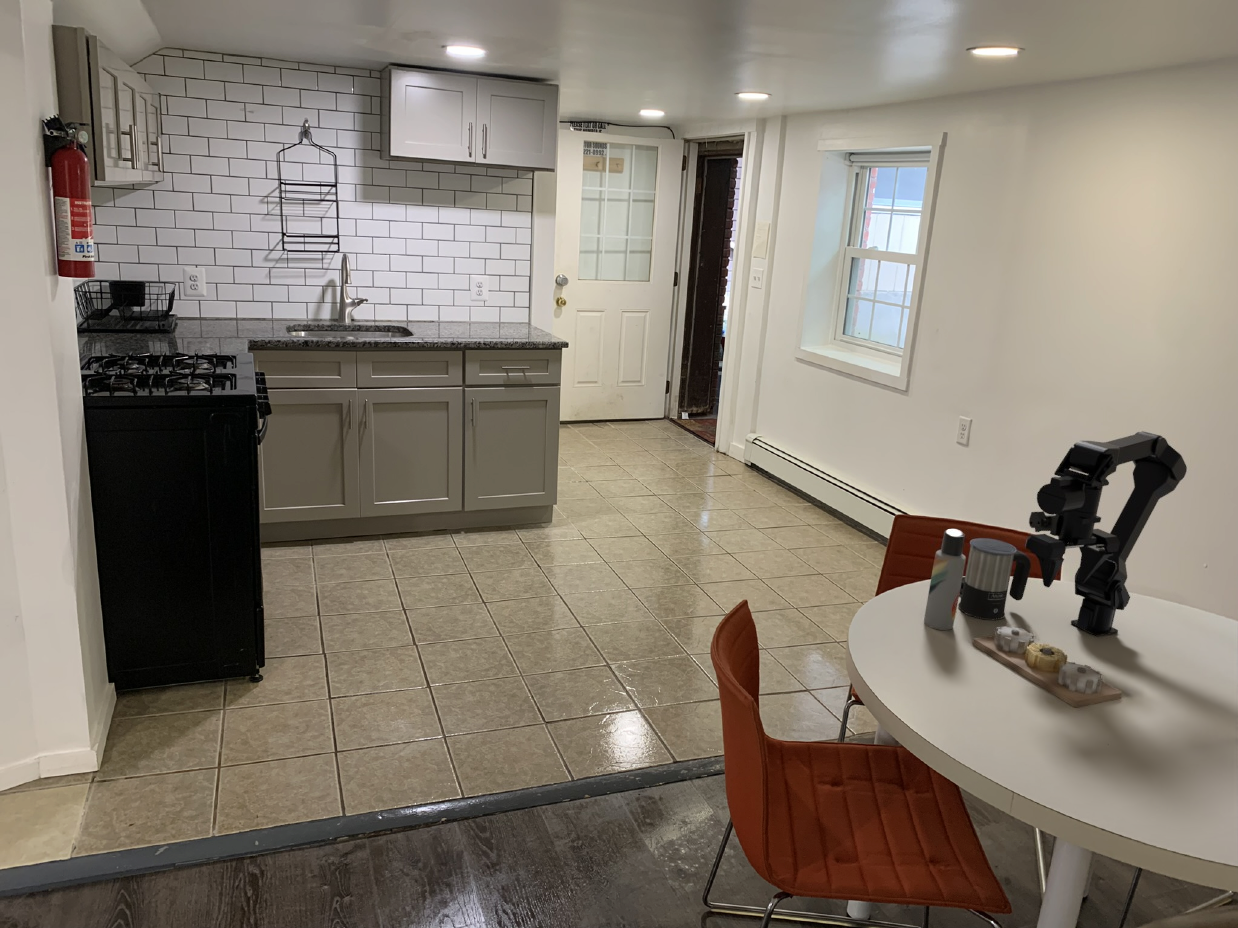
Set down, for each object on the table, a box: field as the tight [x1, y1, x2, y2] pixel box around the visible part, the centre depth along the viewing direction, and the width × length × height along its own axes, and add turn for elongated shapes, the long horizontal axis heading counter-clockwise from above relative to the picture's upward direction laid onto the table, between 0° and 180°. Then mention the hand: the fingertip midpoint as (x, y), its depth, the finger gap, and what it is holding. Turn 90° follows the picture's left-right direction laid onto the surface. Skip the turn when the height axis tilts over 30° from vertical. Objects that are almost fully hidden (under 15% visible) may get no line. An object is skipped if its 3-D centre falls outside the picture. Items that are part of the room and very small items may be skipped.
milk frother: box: [957, 537, 1032, 621], centre depth 196 cm, size 14×16×15 cm
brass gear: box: [1024, 642, 1068, 673], centre depth 169 cm, size 7×7×2 cm
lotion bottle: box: [923, 528, 967, 631], centre depth 183 cm, size 6×6×20 cm
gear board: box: [972, 625, 1123, 708], centre depth 169 cm, size 24×11×4 cm, turn 23°
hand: (1063, 584), depth 179 cm, fingers open, 9 cm apart
